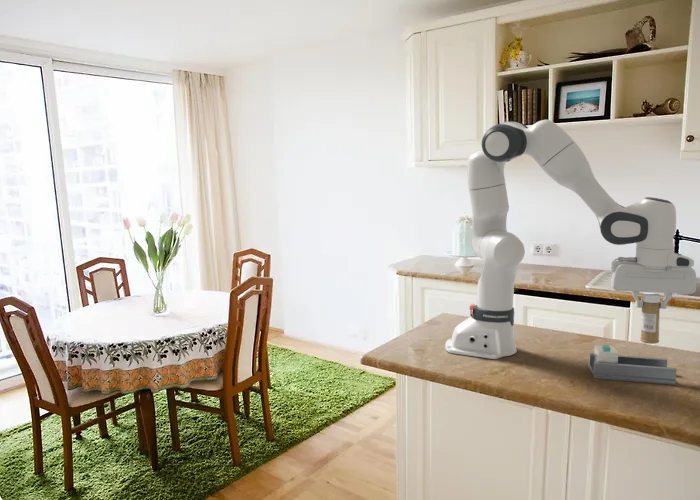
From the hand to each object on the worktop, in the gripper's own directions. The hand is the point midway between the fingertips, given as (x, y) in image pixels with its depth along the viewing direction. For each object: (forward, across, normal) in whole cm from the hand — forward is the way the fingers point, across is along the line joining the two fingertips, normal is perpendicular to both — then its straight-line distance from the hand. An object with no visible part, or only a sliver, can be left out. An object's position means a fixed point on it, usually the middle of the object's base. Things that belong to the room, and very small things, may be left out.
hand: (650, 307), depth 143 cm
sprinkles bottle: (+10, 0, 0) cm, 10 cm away
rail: (+20, -4, 0) cm, 20 cm away
